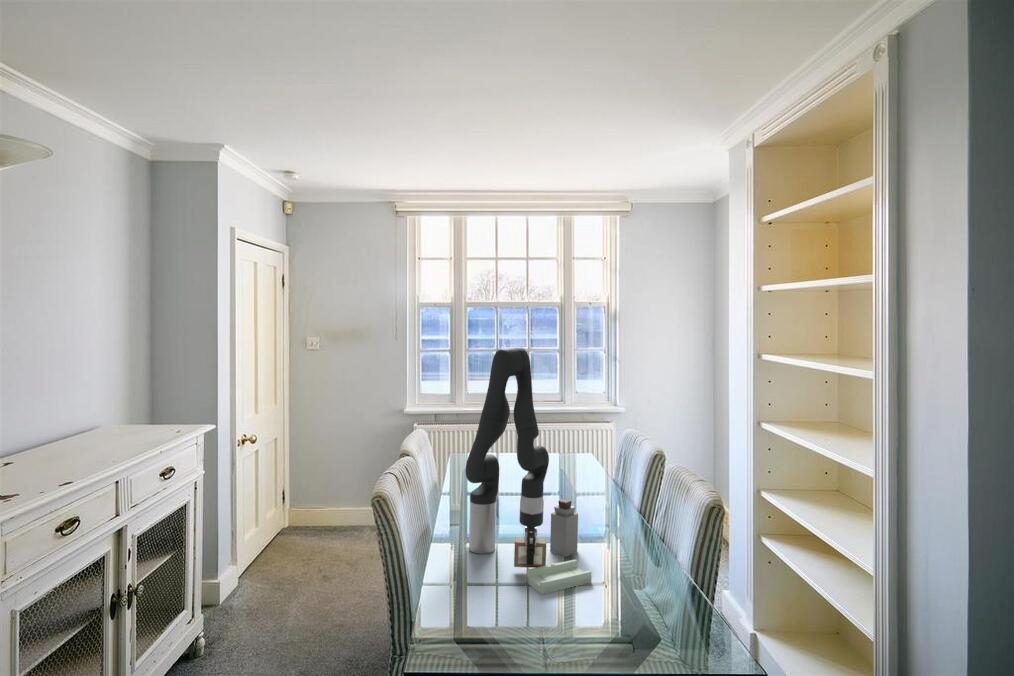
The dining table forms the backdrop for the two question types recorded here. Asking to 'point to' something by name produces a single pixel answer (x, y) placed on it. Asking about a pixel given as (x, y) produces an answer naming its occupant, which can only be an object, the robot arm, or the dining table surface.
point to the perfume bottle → (564, 529)
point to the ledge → (557, 577)
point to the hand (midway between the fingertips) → (529, 560)
